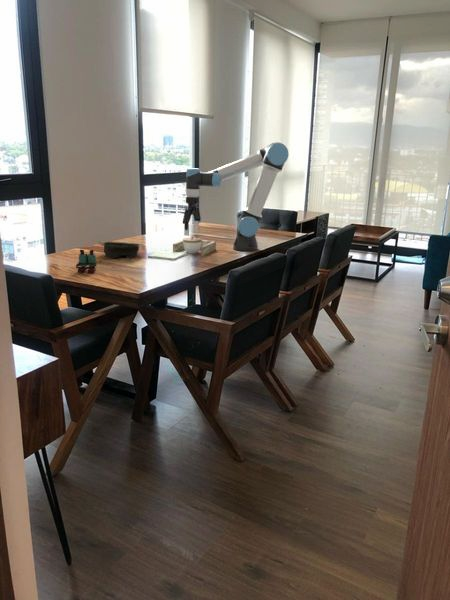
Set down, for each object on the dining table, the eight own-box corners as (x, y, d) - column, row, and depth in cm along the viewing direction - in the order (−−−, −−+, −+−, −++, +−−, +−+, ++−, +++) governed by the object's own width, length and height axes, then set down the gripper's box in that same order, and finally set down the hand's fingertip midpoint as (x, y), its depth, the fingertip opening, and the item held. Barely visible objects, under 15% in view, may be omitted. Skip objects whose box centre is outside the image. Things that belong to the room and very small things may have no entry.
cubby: (215, 249, 297) (215, 241, 296) (203, 255, 279) (203, 247, 278) (186, 246, 303) (186, 238, 302) (172, 252, 286) (172, 244, 284)
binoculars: (73, 254, 229) (78, 248, 238) (75, 275, 233) (80, 268, 242) (92, 254, 229) (97, 248, 238) (94, 276, 233) (98, 269, 242)
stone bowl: (100, 261, 259) (99, 243, 257) (99, 254, 283) (97, 238, 281) (147, 258, 266) (146, 241, 264) (142, 252, 289) (141, 237, 287)
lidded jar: (198, 254, 282) (198, 238, 279) (180, 253, 284) (180, 237, 281) (203, 251, 292) (203, 235, 289) (185, 249, 294) (185, 234, 291)
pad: (186, 254, 281) (186, 253, 280) (174, 260, 266) (174, 258, 266) (161, 252, 286) (161, 250, 286) (147, 257, 271) (147, 255, 271)
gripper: (195, 194, 291) (194, 230, 297) (176, 197, 268) (176, 236, 275) (206, 195, 288) (205, 231, 295) (189, 198, 266) (188, 237, 272)
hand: (191, 233), depth 285 cm, fingers open, 13 cm apart
